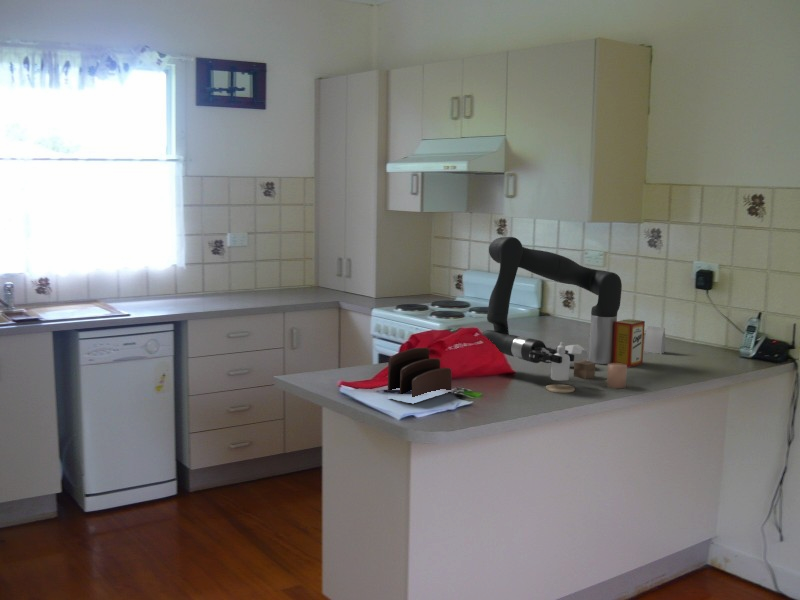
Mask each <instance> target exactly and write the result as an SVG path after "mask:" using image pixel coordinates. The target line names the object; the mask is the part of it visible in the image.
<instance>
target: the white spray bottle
mask: <svg viewBox="0 0 800 600" xmlns="http://www.w3.org/2000/svg"><path fill="white" fill-rule="evenodd" d="M565 350H567V351H568V353H570V354H574V361H570V368H574V362H578V361H583V360H584V361H588V351H587V350H586V349H584V347H582V346H581V345H580V344H569V345H565Z"/></svg>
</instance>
